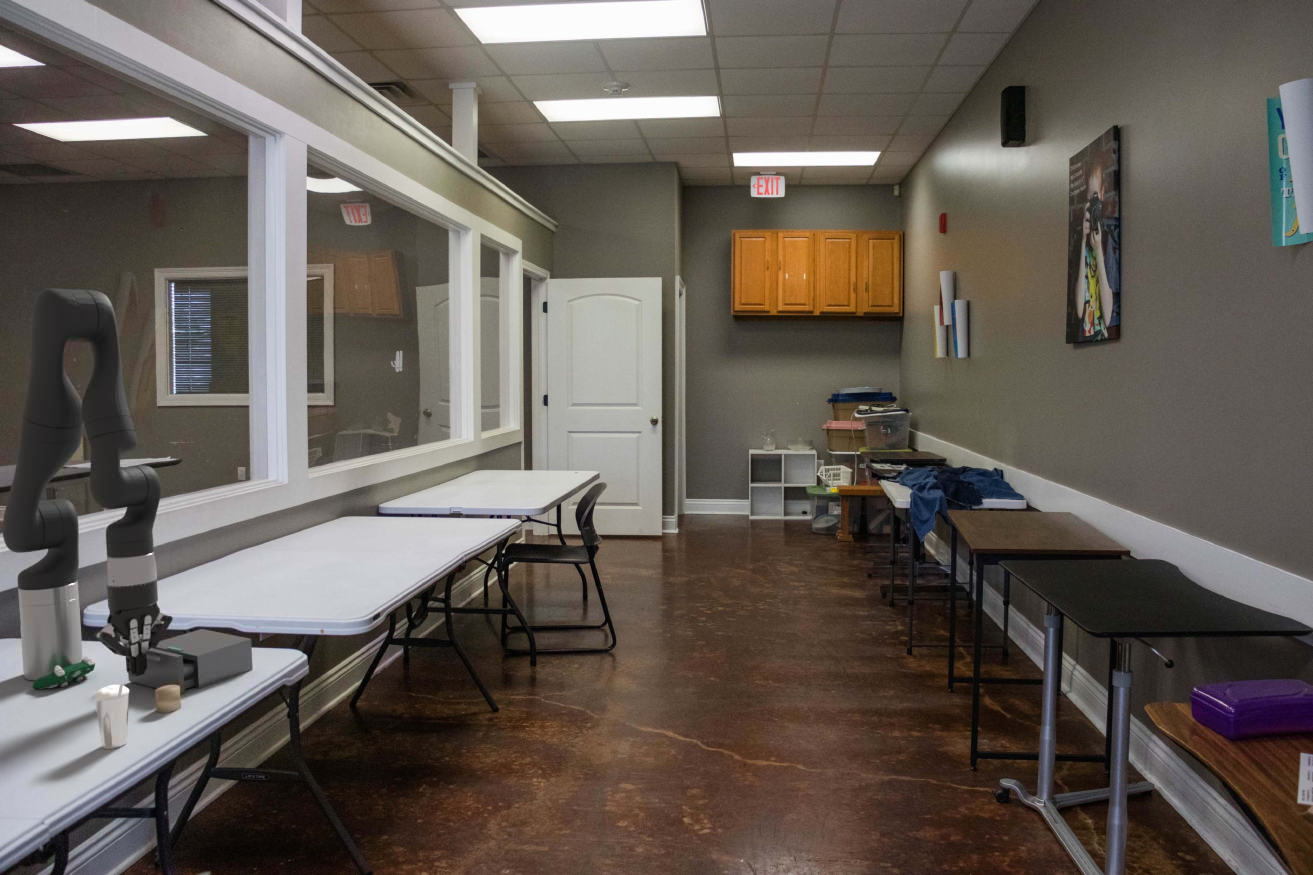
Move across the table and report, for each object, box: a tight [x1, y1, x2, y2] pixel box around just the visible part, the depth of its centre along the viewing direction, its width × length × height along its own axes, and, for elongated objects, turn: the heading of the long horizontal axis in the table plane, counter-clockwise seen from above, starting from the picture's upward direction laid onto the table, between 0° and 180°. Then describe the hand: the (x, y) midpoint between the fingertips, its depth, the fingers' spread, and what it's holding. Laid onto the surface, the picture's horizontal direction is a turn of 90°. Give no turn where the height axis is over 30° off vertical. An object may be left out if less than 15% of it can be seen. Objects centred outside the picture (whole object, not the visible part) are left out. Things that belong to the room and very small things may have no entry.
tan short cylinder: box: [154, 685, 182, 714], centre depth 143 cm, size 4×4×4 cm
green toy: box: [31, 655, 96, 690], centre depth 156 cm, size 9×4×6 cm
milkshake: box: [93, 684, 130, 750], centre depth 129 cm, size 5×5×10 cm
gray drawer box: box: [152, 628, 253, 689], centre depth 160 cm, size 11×15×6 cm
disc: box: [183, 659, 195, 679], centre depth 157 cm, size 6×6×2 cm
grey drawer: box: [127, 648, 196, 695], centre depth 157 cm, size 11×15×7 cm
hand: (137, 674), depth 150 cm, fingers closed
